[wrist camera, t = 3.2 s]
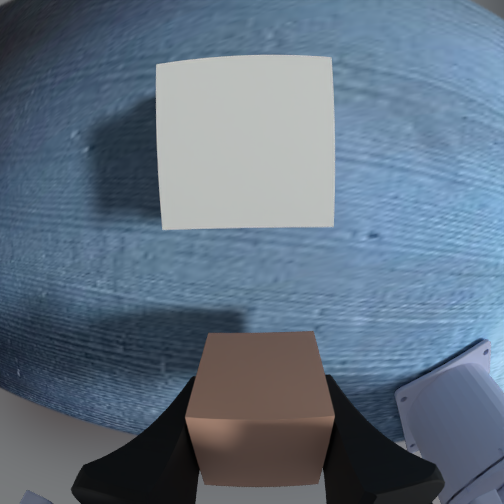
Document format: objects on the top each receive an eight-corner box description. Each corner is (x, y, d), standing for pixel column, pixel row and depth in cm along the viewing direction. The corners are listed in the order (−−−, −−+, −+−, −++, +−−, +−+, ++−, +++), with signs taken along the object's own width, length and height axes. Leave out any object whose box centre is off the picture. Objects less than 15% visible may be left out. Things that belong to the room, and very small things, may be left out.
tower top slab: (314, 80, 10) (331, 57, 7) (316, 208, 12) (333, 227, 9) (181, 84, 10) (156, 64, 7) (185, 211, 12) (162, 230, 9)
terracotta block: (313, 330, 13) (334, 415, 8) (306, 403, 14) (318, 483, 9) (208, 332, 13) (184, 416, 8) (217, 404, 14) (204, 484, 10)
